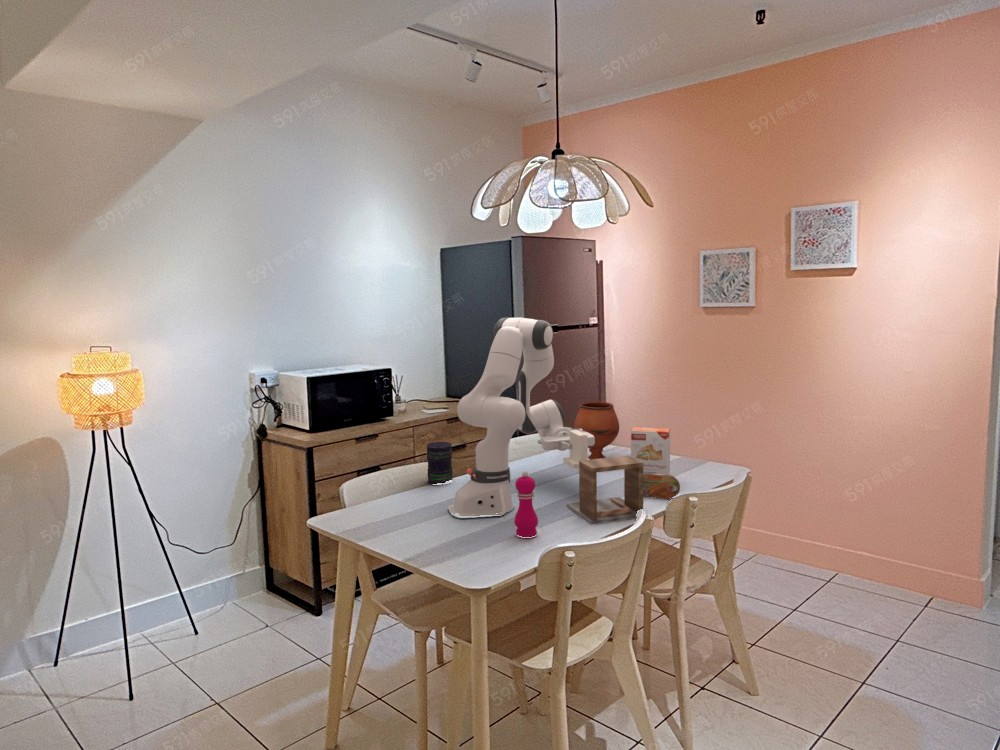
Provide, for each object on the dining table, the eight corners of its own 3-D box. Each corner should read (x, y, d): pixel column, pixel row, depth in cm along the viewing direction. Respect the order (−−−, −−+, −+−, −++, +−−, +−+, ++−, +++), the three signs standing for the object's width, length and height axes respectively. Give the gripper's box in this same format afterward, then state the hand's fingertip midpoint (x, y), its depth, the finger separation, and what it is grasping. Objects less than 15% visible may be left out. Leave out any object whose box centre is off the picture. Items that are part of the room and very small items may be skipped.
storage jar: (429, 478, 272) (428, 442, 270) (454, 478, 271) (453, 441, 269) (426, 486, 262) (424, 448, 260) (451, 485, 262) (450, 447, 260)
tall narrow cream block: (573, 468, 241) (573, 436, 240) (563, 462, 250) (563, 431, 248) (594, 465, 244) (593, 434, 242) (583, 459, 252) (583, 429, 251)
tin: (636, 496, 244) (636, 473, 242) (638, 493, 246) (638, 470, 245) (678, 501, 237) (678, 477, 235) (680, 498, 239) (681, 475, 238)
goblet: (575, 468, 282) (575, 408, 278) (572, 456, 301) (572, 400, 298) (622, 467, 281) (622, 407, 278) (616, 455, 300) (616, 399, 297)
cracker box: (630, 484, 258) (630, 429, 255) (632, 479, 263) (632, 426, 261) (668, 486, 253) (669, 431, 251) (670, 482, 259) (670, 428, 256)
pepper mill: (513, 531, 211) (512, 468, 209) (536, 530, 212) (535, 467, 209) (515, 540, 204) (514, 475, 201) (539, 539, 204) (538, 474, 202)
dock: (590, 524, 216) (589, 469, 213) (566, 506, 234) (566, 455, 231) (646, 516, 222) (646, 462, 219) (619, 499, 240) (619, 449, 237)
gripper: (535, 432, 258) (549, 440, 244) (585, 428, 264) (601, 435, 251) (535, 449, 258) (549, 457, 245) (585, 444, 264) (601, 452, 251)
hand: (576, 446), depth 248 cm, fingers closed on tall narrow cream block, 3 cm apart
